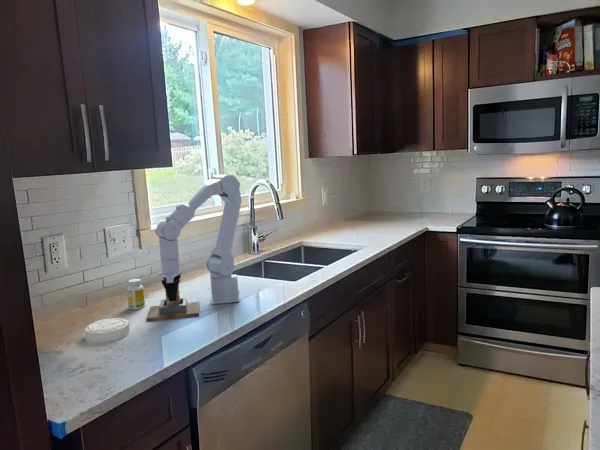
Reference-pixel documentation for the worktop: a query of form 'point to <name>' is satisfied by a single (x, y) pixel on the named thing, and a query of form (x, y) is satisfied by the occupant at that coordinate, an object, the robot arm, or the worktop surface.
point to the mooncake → (107, 330)
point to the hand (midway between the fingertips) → (173, 298)
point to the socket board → (173, 310)
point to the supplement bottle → (135, 294)
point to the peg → (173, 301)
